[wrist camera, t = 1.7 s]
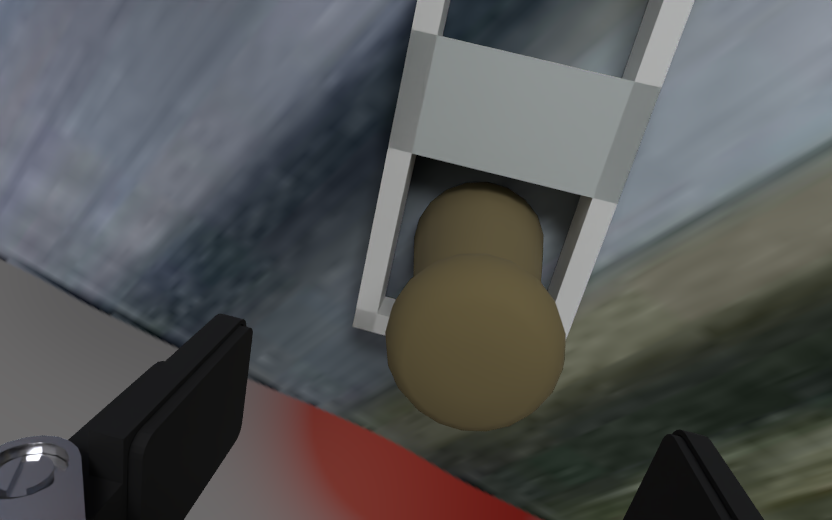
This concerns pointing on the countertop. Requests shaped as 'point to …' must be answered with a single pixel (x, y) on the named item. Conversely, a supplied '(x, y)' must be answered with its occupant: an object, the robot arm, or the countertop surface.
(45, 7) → the countertop surface
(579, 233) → the socket frame
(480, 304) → the cork
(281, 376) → the countertop surface
